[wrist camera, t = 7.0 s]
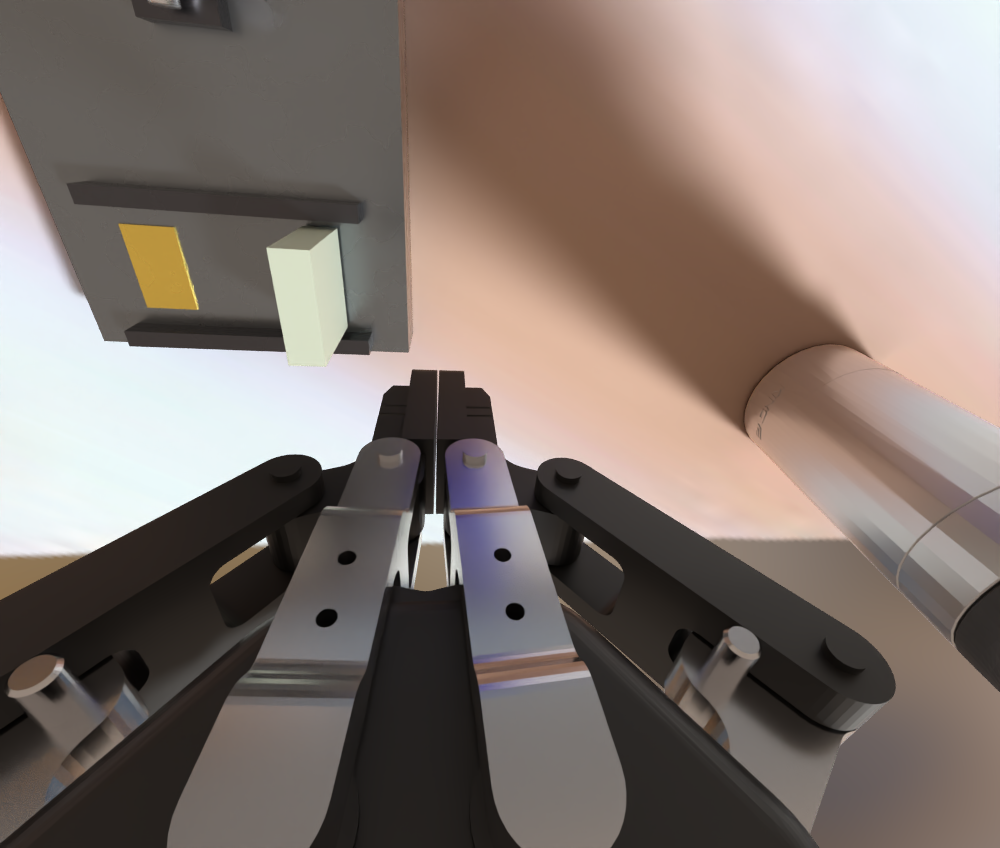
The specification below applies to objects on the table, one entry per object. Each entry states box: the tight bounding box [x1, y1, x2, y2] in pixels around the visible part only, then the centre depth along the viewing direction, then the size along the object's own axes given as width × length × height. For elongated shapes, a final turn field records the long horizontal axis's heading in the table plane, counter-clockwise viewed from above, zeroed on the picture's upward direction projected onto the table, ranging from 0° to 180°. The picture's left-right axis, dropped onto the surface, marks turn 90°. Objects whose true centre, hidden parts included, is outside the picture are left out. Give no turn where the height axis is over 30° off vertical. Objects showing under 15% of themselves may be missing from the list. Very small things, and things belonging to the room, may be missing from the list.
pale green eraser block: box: [266, 226, 348, 367], centre depth 21 cm, size 2×5×5 cm, turn 176°
